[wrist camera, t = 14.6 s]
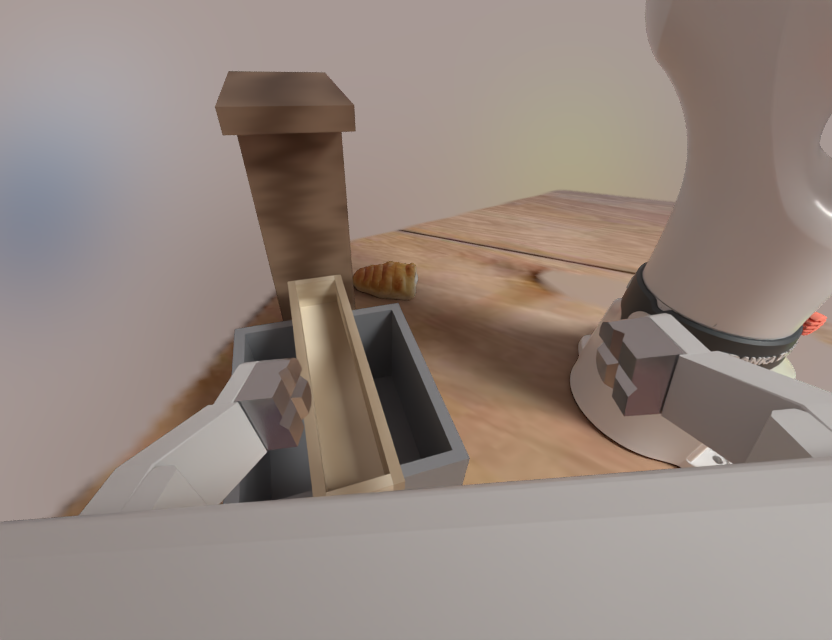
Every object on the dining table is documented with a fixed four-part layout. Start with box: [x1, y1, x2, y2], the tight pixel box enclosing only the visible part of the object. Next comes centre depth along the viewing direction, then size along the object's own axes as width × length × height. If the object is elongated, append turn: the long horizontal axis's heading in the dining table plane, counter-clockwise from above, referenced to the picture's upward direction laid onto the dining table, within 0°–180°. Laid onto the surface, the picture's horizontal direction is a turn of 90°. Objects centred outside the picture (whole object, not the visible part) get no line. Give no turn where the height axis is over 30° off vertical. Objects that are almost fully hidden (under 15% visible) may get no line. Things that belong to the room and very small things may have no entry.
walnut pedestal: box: [215, 71, 355, 321], centre depth 35 cm, size 8×14×26 cm, turn 18°
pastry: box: [353, 261, 418, 300], centre depth 52 cm, size 9×7×4 cm
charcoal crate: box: [223, 303, 470, 504], centre depth 30 cm, size 14×16×10 cm
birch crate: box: [288, 274, 405, 497], centre depth 25 cm, size 4×19×3 cm, turn 18°
